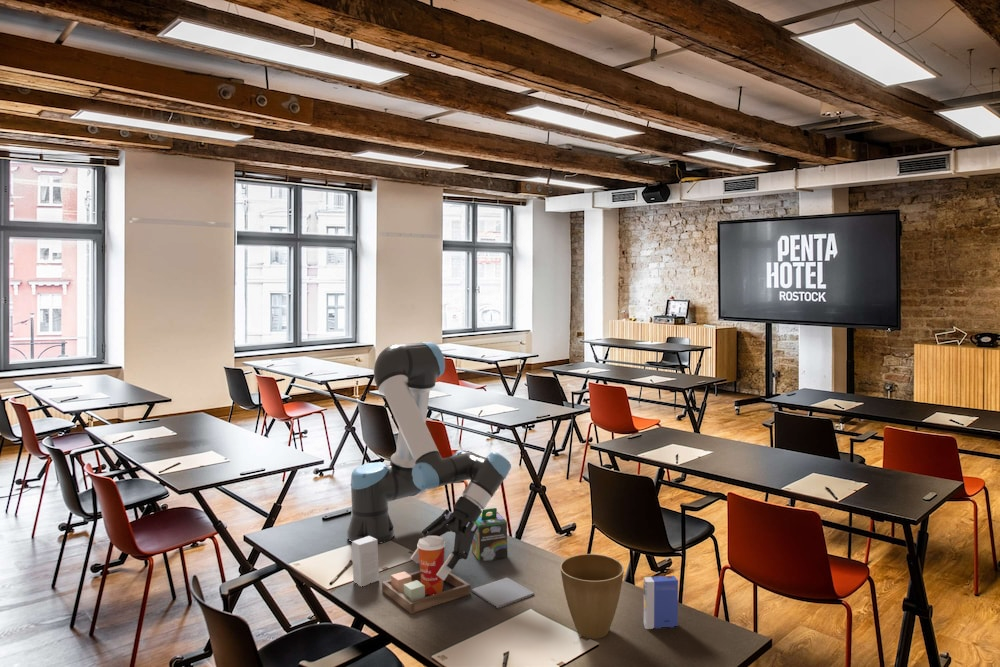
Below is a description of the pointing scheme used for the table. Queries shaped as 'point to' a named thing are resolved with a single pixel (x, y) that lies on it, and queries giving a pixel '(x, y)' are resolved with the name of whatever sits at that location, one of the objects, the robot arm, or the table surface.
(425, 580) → the paper cup
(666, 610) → the blue carton
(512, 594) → the grey pad
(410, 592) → the sage block
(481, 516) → the chalk box
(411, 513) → the table surface
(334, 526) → the table surface
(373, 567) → the skincare box
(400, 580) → the terracotta block
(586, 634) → the plant pot
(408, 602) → the walnut frame
